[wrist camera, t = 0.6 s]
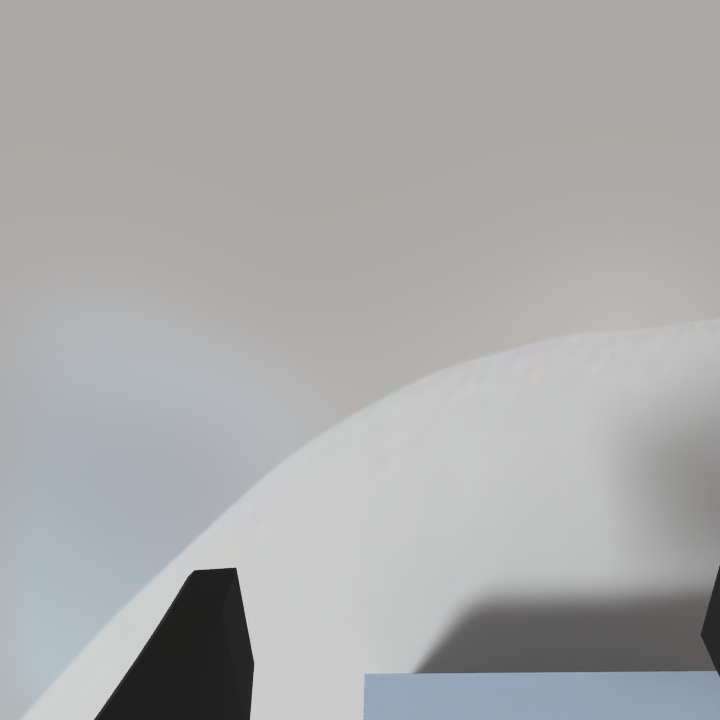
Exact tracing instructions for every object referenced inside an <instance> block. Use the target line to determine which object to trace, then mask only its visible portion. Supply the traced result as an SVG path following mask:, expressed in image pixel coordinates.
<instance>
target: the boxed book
mask: <svg viewBox="0 0 720 720" xmlns="http://www.w3.org/2000/svg"><path fill="white" fill-rule="evenodd" d="M364 720H720V677H719V674H718V672H717V671H657V672H536V673H416V674H365V685H364Z"/></svg>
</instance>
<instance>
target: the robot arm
mask: <svg viewBox="0 0 720 720" xmlns="http://www.w3.org/2000/svg"><path fill="white" fill-rule="evenodd" d="M701 637H702V639H703V641H704V643H705V645H706V648H707V650H708V652H709V654H710V657H711V659H712V661H713V663H714V666H715V668H716V670H717V672H718V674H719V677H720V566H719V570H718V574H717V577H716V581H715V585H714V588H713V592H712V596H711V599H710V603H709V607H708V610H707V614H706V618H705V621H704V625H703V628H702V632H701ZM253 672H254V660H253V655H252V650H251V644H250V639H249V634H248V628H247V623H246V618H245V612H244V607H243V602H242V596H241V591H240V585H239V580H238V575H237V569H236V568H224V569H209V570H194V571H193V572H192V573H191V574H190V575H189V576H188V578H187V579H186V581H185V583H184V584H183V586H182V588H181V589H180V591H179V593H178V594H177V596H176V598H175V599H174V601H173V603H172V604H171V606H170V607H169V609H168V611H167V612H166V614H165V615H164V617H163V619H162V620H161V622H160V623H159V625H158V626H157V628H156V630H155V631H154V633H153V634H152V636H151V637H150V639H149V640H148V642H147V643H146V645H145V646H144V648H143V650H142V651H141V653H140V654H139V656H138V657H137V659H136V660H135V662H134V663H133V665H132V666H131V667H130V669H129V670H128V672H127V673H126V675H125V676H124V678H123V679H122V680H121V682H120V683H119V685H118V686H117V688H116V689H115V691H114V692H113V694H112V695H111V696H110V698H109V699H108V701H107V702H106V704H105V705H104V707H103V708H102V709H101V711H100V712H99V714H98V715H97V716H96V718H95V719H94V720H250V711H251V699H252V686H253Z"/></svg>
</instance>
